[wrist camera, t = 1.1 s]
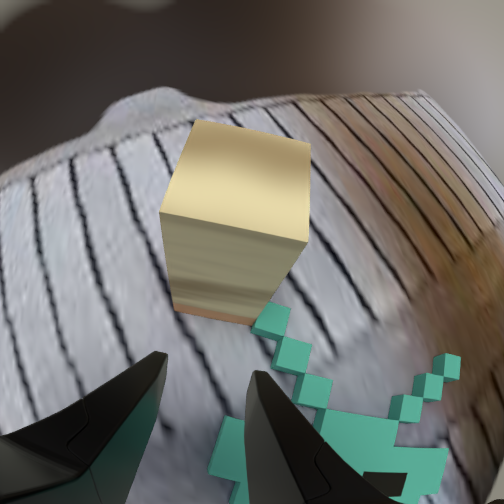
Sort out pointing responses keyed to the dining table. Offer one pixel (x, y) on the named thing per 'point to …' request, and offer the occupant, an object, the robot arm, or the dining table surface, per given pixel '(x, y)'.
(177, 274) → the maple block
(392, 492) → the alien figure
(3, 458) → the robot arm
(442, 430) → the dining table surface
